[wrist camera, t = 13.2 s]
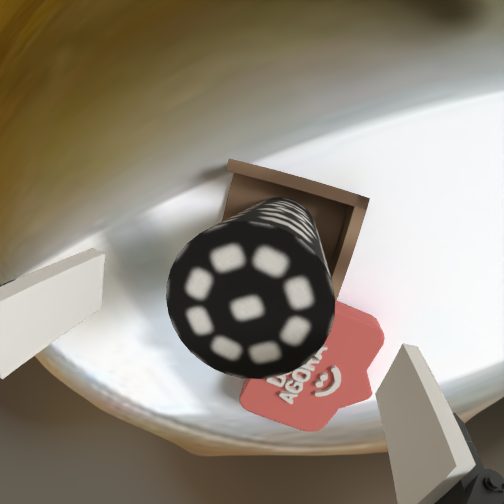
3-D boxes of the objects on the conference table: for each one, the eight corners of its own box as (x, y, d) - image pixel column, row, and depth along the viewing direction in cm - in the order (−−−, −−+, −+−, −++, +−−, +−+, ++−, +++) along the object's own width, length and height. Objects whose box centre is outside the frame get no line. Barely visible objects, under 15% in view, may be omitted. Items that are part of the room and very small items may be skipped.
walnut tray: (238, 161, 33) (228, 158, 29) (361, 196, 32) (369, 198, 28) (211, 273, 37) (199, 285, 32) (324, 307, 35) (327, 323, 31)
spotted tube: (256, 281, 35) (205, 389, 16) (230, 212, 34) (141, 253, 15) (326, 259, 34) (352, 357, 14) (302, 186, 32) (303, 195, 13)
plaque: (335, 443, 35) (233, 408, 36) (334, 425, 39) (239, 391, 40) (411, 342, 30) (293, 293, 31) (403, 327, 34) (294, 281, 35)
